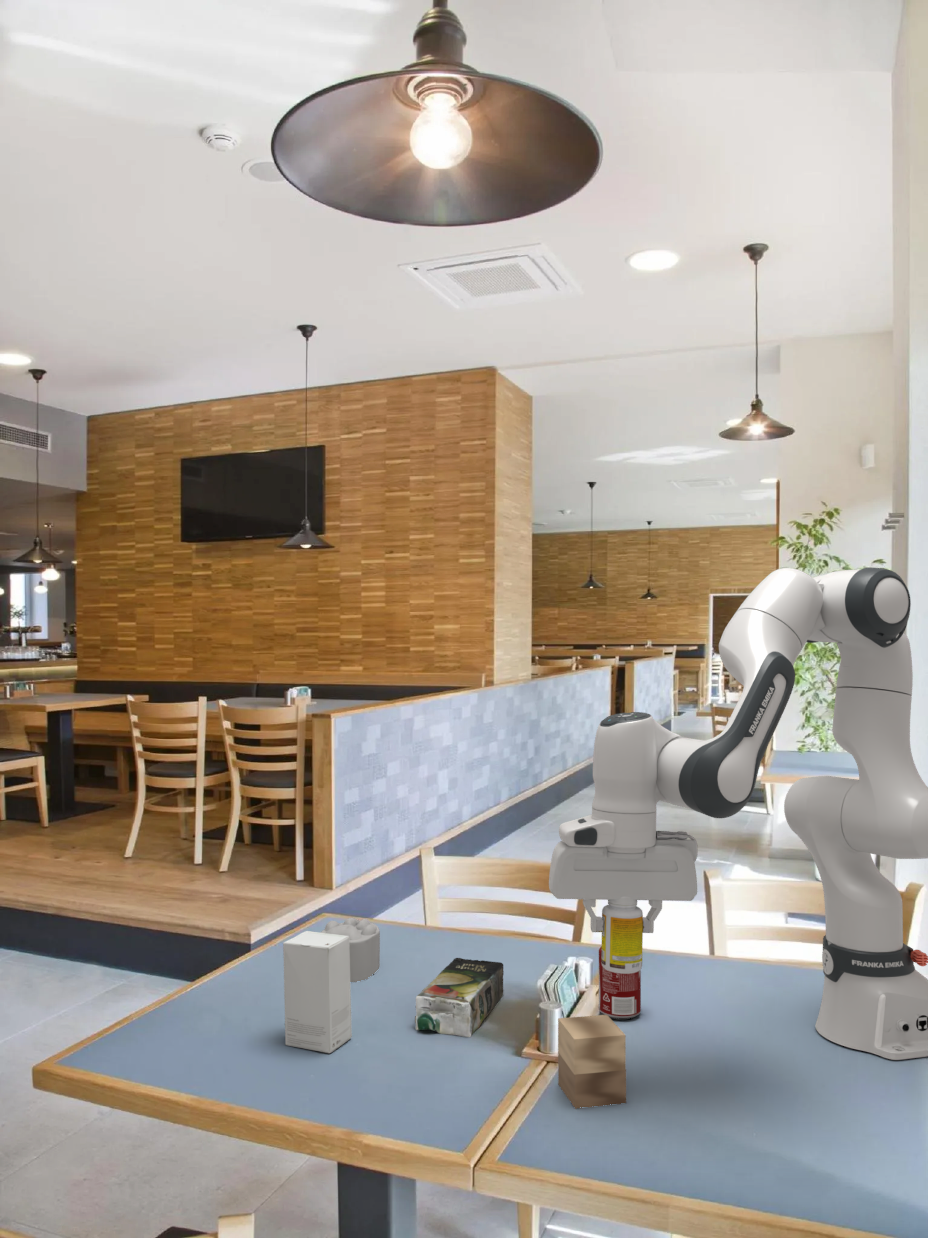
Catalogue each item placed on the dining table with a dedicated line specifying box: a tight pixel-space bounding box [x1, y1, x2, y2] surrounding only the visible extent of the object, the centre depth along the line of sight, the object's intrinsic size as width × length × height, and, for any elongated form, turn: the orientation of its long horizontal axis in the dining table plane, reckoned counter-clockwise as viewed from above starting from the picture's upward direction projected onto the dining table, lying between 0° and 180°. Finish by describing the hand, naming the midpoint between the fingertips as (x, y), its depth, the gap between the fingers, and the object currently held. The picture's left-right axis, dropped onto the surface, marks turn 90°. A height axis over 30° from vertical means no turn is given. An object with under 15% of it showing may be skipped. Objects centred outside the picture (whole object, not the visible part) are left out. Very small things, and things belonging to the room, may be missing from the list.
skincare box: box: [282, 930, 353, 1054], centre depth 141 cm, size 8×7×16 cm
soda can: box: [598, 943, 642, 1021], centre depth 153 cm, size 7×7×12 cm
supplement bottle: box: [601, 897, 644, 974], centre depth 129 cm, size 6×6×10 cm
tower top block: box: [557, 1014, 627, 1075], centre depth 125 cm, size 7×7×4 cm
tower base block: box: [557, 1052, 627, 1110], centre depth 125 cm, size 7×7×4 cm
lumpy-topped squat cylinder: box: [319, 917, 381, 983], centre depth 174 cm, size 10×13×9 cm
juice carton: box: [414, 957, 505, 1038], centre depth 153 cm, size 20×10×6 cm, turn 162°
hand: (621, 931), depth 129 cm, fingers closed on supplement bottle, 6 cm apart
